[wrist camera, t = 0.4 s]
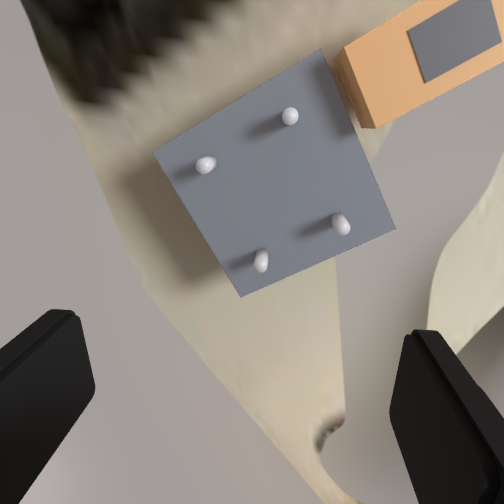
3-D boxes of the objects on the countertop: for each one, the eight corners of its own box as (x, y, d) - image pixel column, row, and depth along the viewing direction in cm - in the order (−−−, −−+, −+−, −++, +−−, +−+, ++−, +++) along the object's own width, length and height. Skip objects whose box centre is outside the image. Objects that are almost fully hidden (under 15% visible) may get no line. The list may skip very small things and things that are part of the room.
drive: (457, -15, 25) (498, -47, 20) (480, 64, 27) (523, 51, 22) (333, 60, 27) (344, 46, 23) (361, 128, 29) (376, 128, 24)
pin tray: (319, 51, 26) (325, 38, 22) (392, 225, 30) (407, 239, 27) (156, 151, 30) (137, 155, 26) (242, 291, 34) (236, 313, 31)
